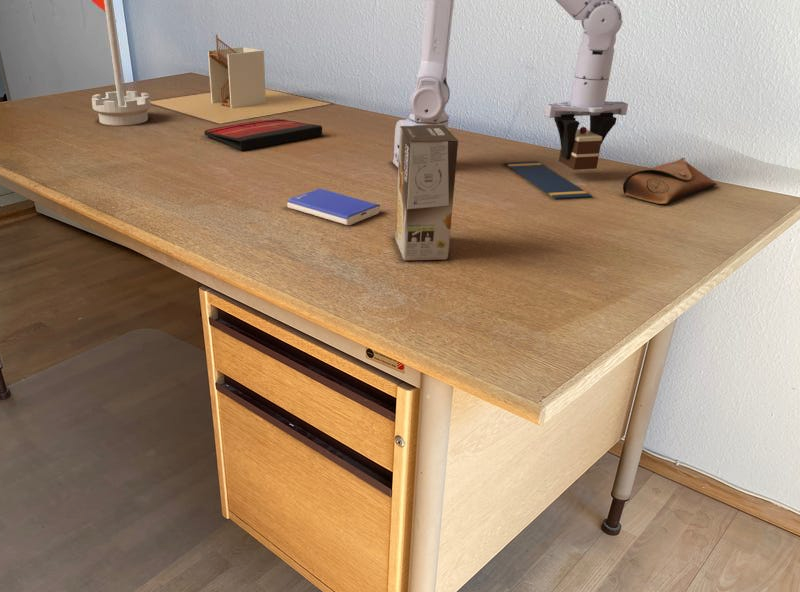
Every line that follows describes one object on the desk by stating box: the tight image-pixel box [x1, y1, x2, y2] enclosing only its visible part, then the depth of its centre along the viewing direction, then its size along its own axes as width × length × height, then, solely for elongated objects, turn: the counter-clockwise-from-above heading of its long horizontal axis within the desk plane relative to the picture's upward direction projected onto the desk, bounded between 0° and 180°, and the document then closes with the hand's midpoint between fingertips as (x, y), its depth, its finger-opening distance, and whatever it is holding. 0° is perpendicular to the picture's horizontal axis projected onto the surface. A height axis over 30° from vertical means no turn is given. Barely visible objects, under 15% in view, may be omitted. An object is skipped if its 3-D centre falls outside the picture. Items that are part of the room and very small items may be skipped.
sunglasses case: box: [622, 157, 718, 205], centre depth 128 cm, size 18×7×7 cm
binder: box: [203, 118, 323, 152], centre depth 160 cm, size 16×2×21 cm
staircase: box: [207, 34, 267, 109], centre depth 187 cm, size 9×11×17 cm
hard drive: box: [287, 188, 381, 226], centre depth 117 cm, size 2×8×12 cm
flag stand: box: [91, 0, 152, 126], centre depth 165 cm, size 13×13×30 cm
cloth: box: [504, 160, 592, 200], centre depth 134 cm, size 6×22×1 cm, turn 11°
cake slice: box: [558, 126, 602, 171], centre depth 132 cm, size 4×6×7 cm
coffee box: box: [394, 125, 459, 262], centre depth 100 cm, size 9×6×16 cm
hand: (578, 157), depth 133 cm, fingers closed on cake slice, 4 cm apart
